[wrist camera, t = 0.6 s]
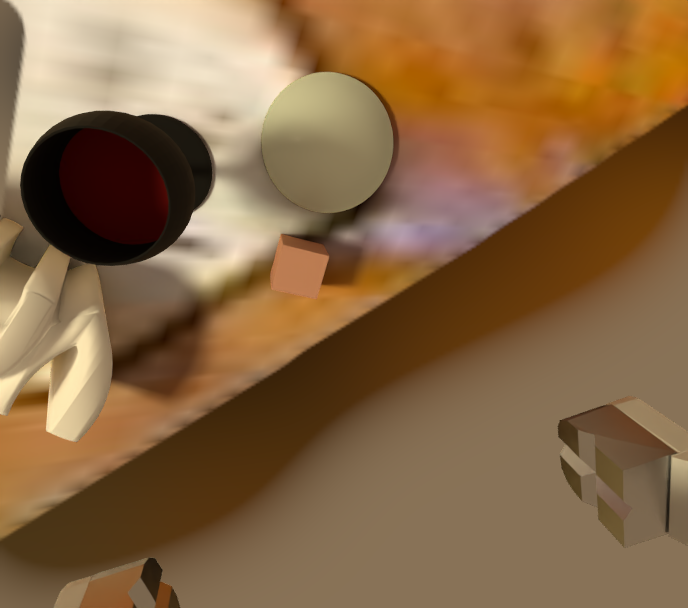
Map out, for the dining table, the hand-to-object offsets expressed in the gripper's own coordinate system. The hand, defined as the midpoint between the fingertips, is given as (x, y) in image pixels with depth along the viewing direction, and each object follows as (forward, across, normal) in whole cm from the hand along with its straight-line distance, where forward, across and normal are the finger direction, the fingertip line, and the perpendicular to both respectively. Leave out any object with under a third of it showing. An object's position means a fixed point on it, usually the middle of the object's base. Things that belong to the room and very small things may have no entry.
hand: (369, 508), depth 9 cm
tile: (+44, -7, -4) cm, 45 cm away
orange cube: (+45, 0, +7) cm, 46 cm away
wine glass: (+45, +10, -6) cm, 46 cm away
